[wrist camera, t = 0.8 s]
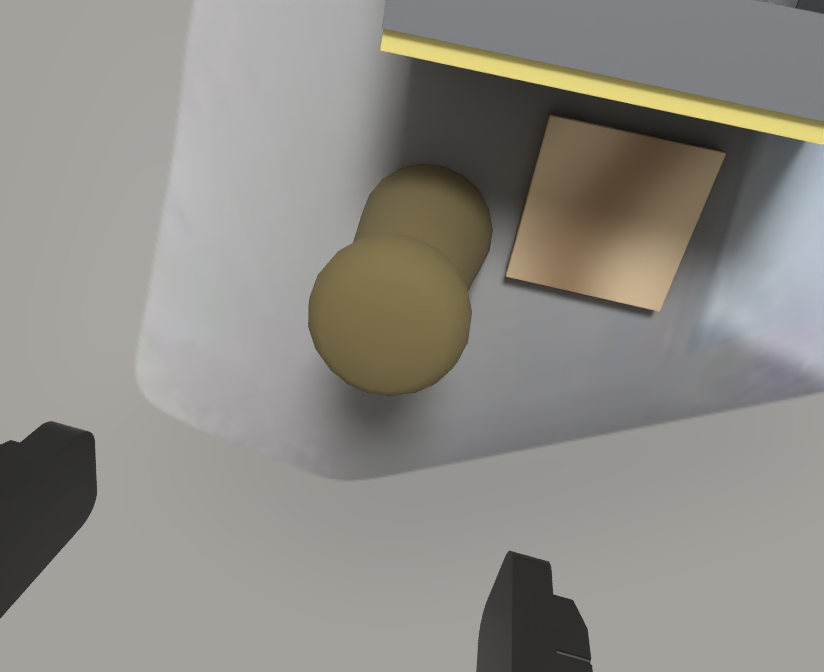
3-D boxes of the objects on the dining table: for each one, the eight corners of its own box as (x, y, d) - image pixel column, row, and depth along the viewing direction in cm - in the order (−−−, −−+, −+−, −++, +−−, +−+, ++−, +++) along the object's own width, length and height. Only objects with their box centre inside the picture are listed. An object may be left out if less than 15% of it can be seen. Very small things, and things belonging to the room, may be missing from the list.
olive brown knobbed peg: (493, 292, 28) (484, 428, 19) (367, 294, 29) (297, 423, 20) (491, 161, 26) (480, 238, 16) (353, 167, 27) (263, 244, 17)
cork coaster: (721, 151, 24) (726, 153, 24) (656, 306, 27) (659, 311, 27) (549, 113, 24) (550, 115, 24) (506, 271, 28) (506, 276, 27)
